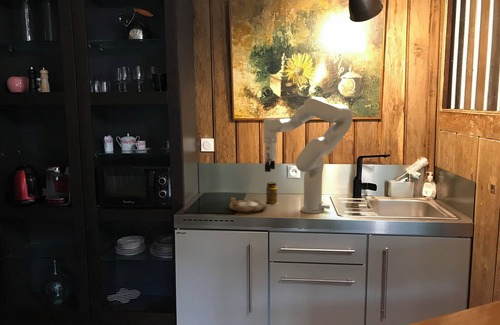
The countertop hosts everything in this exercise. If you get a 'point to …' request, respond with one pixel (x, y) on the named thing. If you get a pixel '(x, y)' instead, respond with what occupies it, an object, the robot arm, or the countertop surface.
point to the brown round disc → (247, 205)
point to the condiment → (271, 194)
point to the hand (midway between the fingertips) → (269, 170)
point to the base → (247, 211)
